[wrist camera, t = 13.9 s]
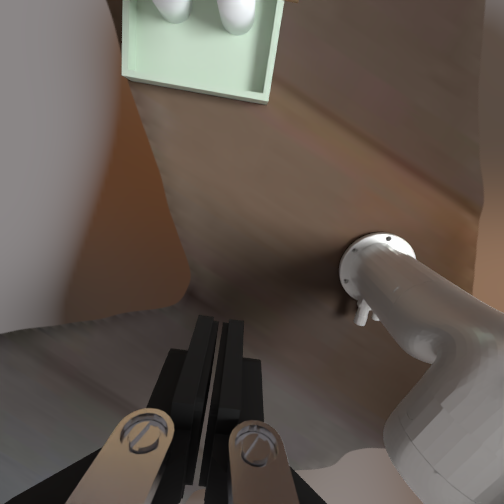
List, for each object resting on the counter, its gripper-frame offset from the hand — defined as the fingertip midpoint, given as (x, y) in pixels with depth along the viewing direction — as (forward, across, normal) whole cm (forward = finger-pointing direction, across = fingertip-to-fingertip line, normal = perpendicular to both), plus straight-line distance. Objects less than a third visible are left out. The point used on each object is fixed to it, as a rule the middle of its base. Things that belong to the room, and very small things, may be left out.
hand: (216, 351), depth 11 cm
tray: (+37, +8, -21) cm, 43 cm away
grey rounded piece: (+36, +4, -23) cm, 43 cm away
